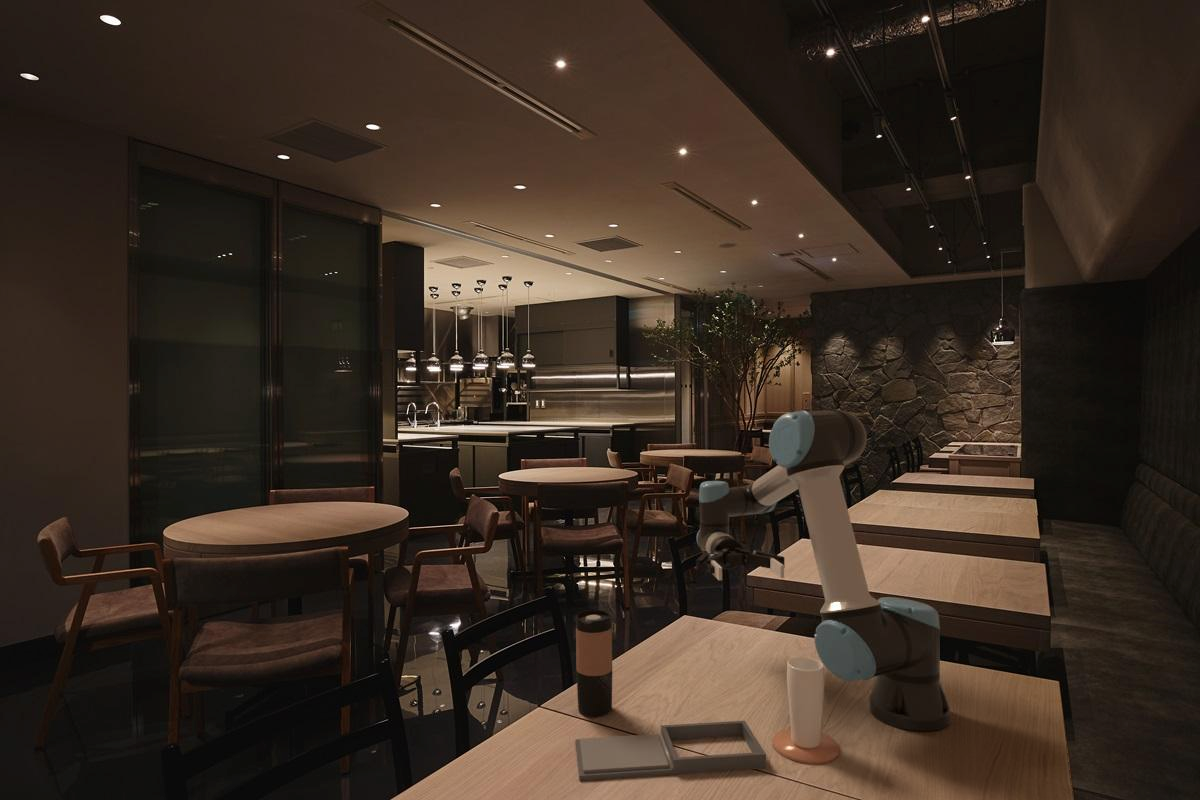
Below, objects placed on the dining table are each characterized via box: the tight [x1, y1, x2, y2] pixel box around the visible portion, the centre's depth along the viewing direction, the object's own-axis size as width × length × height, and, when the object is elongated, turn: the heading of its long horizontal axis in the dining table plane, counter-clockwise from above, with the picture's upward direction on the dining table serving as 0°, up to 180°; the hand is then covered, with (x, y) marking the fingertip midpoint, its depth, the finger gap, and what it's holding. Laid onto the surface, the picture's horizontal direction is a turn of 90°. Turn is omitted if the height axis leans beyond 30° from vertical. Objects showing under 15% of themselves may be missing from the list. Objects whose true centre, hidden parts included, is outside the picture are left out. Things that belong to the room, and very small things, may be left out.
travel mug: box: [575, 609, 613, 718], centre depth 144 cm, size 8×8×20 cm
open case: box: [574, 720, 767, 781], centre depth 126 cm, size 33×13×2 cm, turn 95°
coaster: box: [771, 727, 840, 765], centre depth 128 cm, size 12×12×1 cm
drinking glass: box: [786, 656, 825, 749], centre depth 128 cm, size 7×7×15 cm
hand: (751, 573), depth 146 cm, fingers open, 13 cm apart
